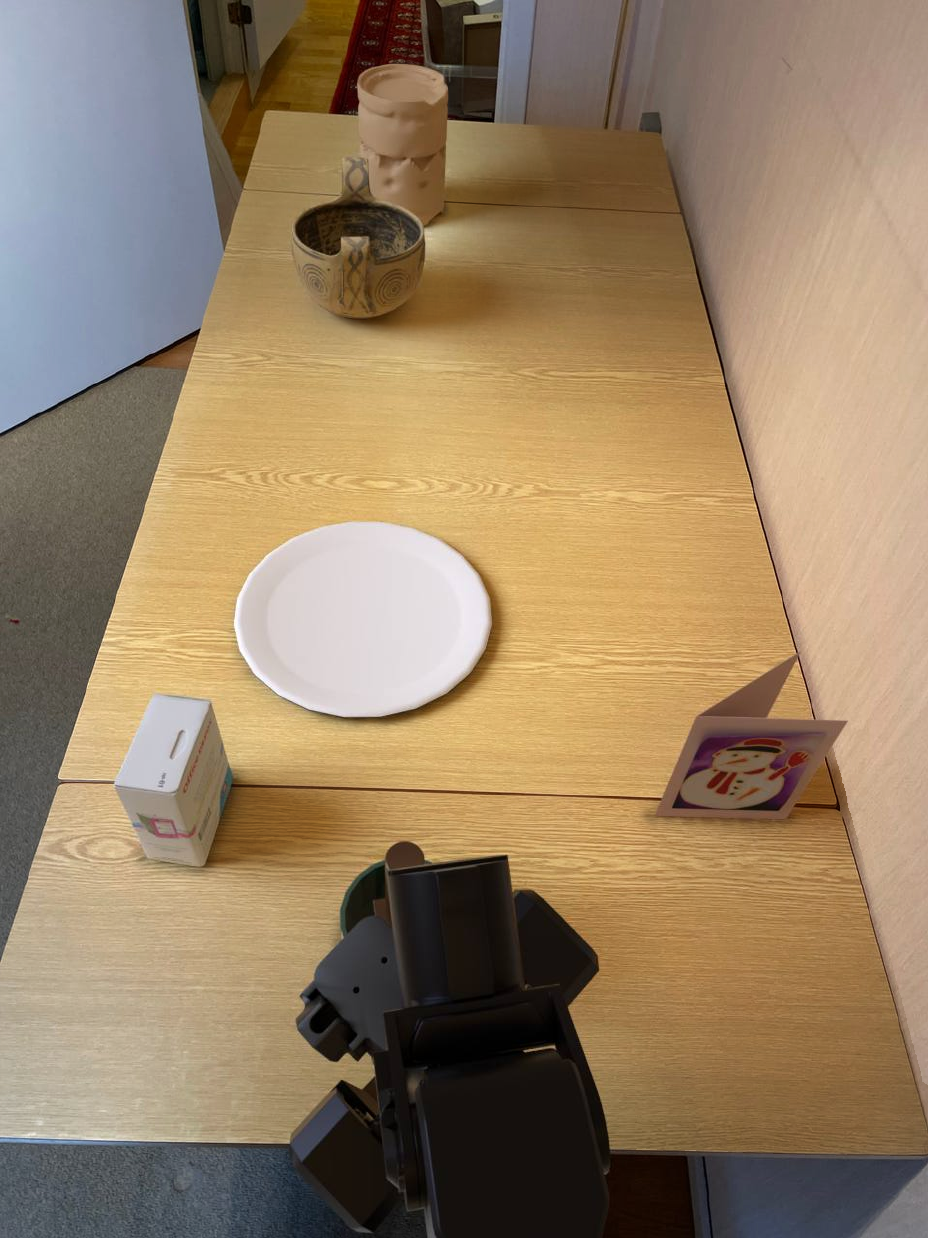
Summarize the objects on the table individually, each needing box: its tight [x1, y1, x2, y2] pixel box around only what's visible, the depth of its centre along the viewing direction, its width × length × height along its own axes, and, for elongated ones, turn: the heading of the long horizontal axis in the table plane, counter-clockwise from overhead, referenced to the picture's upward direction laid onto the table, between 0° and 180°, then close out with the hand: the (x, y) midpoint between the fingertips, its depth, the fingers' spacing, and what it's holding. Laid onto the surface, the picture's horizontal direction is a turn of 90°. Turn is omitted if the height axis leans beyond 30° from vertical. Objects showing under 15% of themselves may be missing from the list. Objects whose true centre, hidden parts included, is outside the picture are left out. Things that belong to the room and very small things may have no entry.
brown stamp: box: [373, 840, 426, 927], centre depth 70 cm, size 4×4×14 cm
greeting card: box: [654, 650, 849, 820], centre depth 80 cm, size 11×7×15 cm, turn 90°
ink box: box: [112, 693, 234, 868], centre depth 77 cm, size 9×5×12 cm, turn 172°
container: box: [356, 63, 449, 227], centre depth 142 cm, size 13×13×18 cm
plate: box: [233, 521, 493, 719], centre depth 96 cm, size 25×25×1 cm
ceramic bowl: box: [291, 156, 426, 320], centre depth 126 cm, size 22×17×15 cm
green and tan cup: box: [339, 859, 433, 941], centre depth 73 cm, size 9×9×6 cm
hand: (433, 1024), depth 61 cm, fingers open, 9 cm apart
